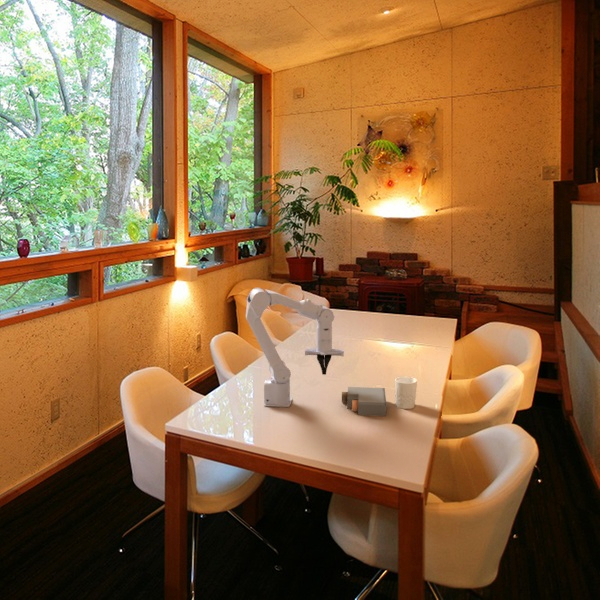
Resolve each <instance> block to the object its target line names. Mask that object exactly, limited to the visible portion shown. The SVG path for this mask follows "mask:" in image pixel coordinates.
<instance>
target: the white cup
mask: <svg viewBox="0 0 600 600" xmlns="http://www.w3.org/2000/svg"><path fill="white" fill-rule="evenodd" d="M417 387H418V379H417V378H415V377H412V376H407V375H406V376H405V375H404V376H403V375H401V376H398V377H395V378H394V393H395V406H396V407H397V408H398V409H403V410H410V409H414V407H416V406H415V405H416V397H417Z"/></svg>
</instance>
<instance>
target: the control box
mask: <svg viewBox="0 0 600 600" xmlns="http://www.w3.org/2000/svg"><path fill="white" fill-rule="evenodd" d="M385 389H386V388H385V387H365V386H363V387H361V386H360V387H358V386H357V387H355V386H347V392H348V397H347V402H346V404H347V405H346V406H347V409H351V410H352V400H358V411H357V413H358V414H357V415H358V416H376V417H378V416H379V417H386V416H387V397H386V390H385Z"/></svg>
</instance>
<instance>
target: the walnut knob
mask: <svg viewBox="0 0 600 600" xmlns="http://www.w3.org/2000/svg"><path fill="white" fill-rule="evenodd" d="M347 397H348V391H341V403H347Z"/></svg>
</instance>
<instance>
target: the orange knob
mask: <svg viewBox="0 0 600 600" xmlns="http://www.w3.org/2000/svg"><path fill="white" fill-rule="evenodd" d="M351 411H352V412H358V400H352V409H351Z"/></svg>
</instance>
